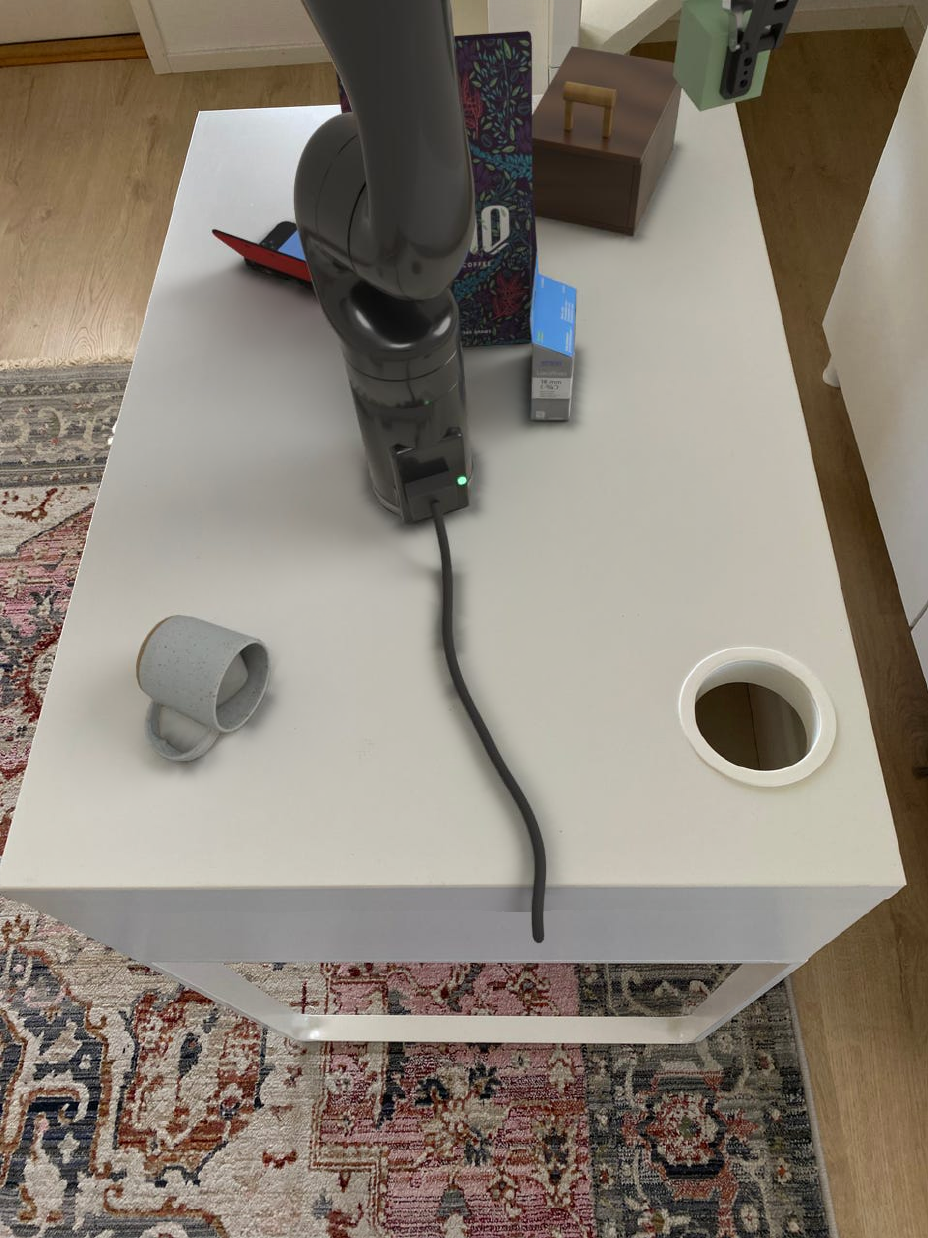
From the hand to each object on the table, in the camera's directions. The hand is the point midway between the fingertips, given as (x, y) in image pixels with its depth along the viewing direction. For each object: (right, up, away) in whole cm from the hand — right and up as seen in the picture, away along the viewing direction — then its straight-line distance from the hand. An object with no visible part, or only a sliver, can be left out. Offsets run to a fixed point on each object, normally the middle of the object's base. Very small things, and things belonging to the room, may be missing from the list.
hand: (717, 73), depth 71 cm
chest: (-4, +8, +34) cm, 35 cm away
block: (0, 0, +1) cm, 1 cm away
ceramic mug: (-40, -49, +5) cm, 63 cm away
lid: (-5, +12, +26) cm, 29 cm away
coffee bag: (-20, -11, +25) cm, 34 cm away
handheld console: (-37, -4, +30) cm, 47 cm away
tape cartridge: (-11, -19, +20) cm, 29 cm away
